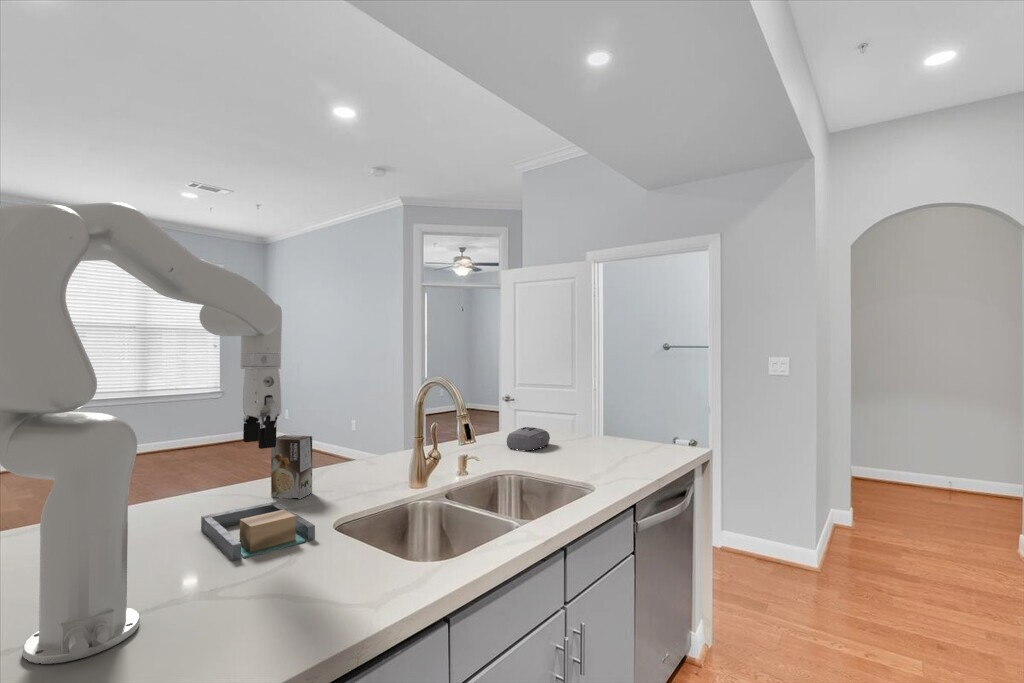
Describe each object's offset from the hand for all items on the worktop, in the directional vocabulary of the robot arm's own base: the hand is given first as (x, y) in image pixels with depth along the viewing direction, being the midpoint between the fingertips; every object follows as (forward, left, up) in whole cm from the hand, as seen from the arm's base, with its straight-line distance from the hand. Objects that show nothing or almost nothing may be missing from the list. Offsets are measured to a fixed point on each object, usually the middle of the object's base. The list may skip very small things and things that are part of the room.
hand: (259, 444), depth 106 cm
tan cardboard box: (0, -2, -20) cm, 21 cm away
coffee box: (+31, -19, -21) cm, 42 cm away
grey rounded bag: (+34, -117, -21) cm, 124 cm away
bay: (+6, -2, -21) cm, 22 cm away
